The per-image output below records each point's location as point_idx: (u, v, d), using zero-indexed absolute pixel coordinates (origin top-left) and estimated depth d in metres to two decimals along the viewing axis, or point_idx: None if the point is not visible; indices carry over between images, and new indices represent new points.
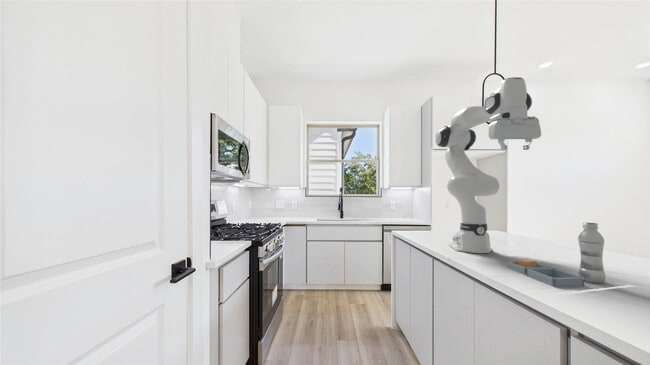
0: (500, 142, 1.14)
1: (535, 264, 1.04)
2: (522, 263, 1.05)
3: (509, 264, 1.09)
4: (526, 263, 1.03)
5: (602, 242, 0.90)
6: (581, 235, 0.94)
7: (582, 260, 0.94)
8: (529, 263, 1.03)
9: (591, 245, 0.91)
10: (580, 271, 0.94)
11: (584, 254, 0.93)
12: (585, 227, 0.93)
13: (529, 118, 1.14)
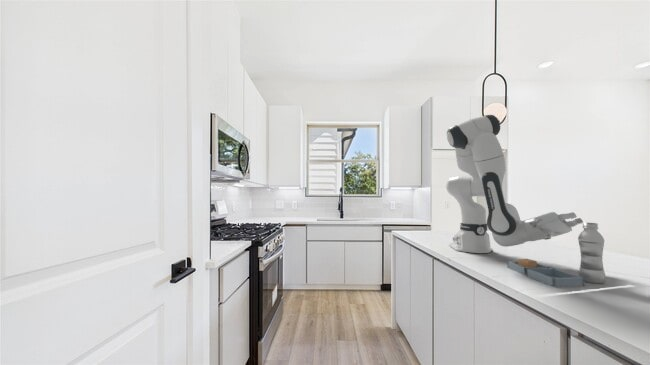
0: None
1: (535, 264, 1.04)
2: (522, 263, 1.05)
3: (509, 264, 1.09)
4: (526, 263, 1.03)
5: (602, 242, 0.90)
6: (581, 235, 0.94)
7: (582, 260, 0.94)
8: (529, 263, 1.03)
9: (591, 245, 0.91)
10: (580, 271, 0.94)
11: (584, 254, 0.93)
12: (585, 227, 0.93)
13: (534, 225, 1.09)
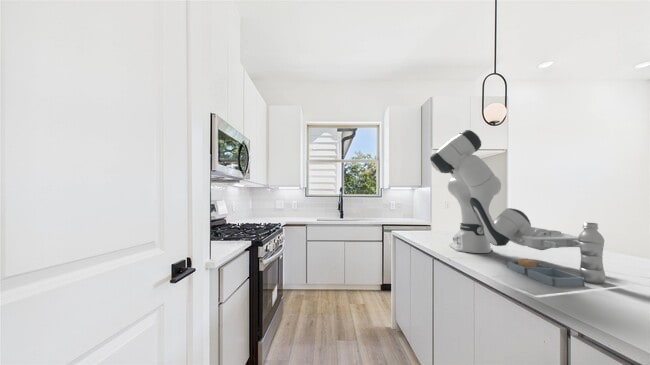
0: None
1: (535, 264, 1.04)
2: (522, 263, 1.05)
3: (509, 264, 1.09)
4: (526, 263, 1.03)
5: (602, 242, 0.90)
6: (581, 235, 0.94)
7: (582, 260, 0.94)
8: (529, 263, 1.03)
9: (591, 245, 0.91)
10: (580, 271, 0.94)
11: (584, 254, 0.93)
12: (585, 227, 0.93)
13: None
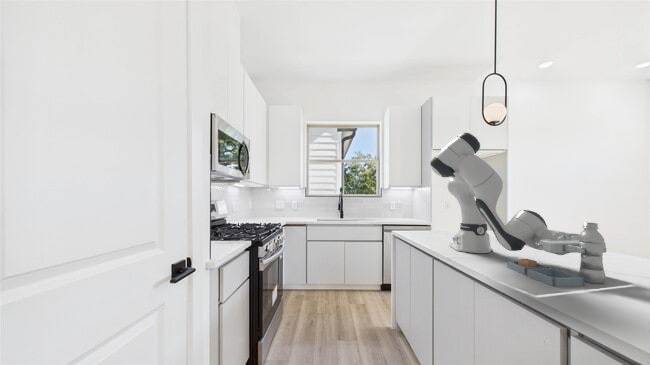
0: None
1: (535, 264, 1.04)
2: (522, 263, 1.05)
3: (509, 264, 1.09)
4: (526, 263, 1.03)
5: (602, 242, 0.90)
6: (581, 235, 0.94)
7: (582, 260, 0.94)
8: (529, 263, 1.03)
9: (591, 245, 0.91)
10: (580, 271, 0.94)
11: (584, 254, 0.93)
12: (585, 227, 0.93)
13: None
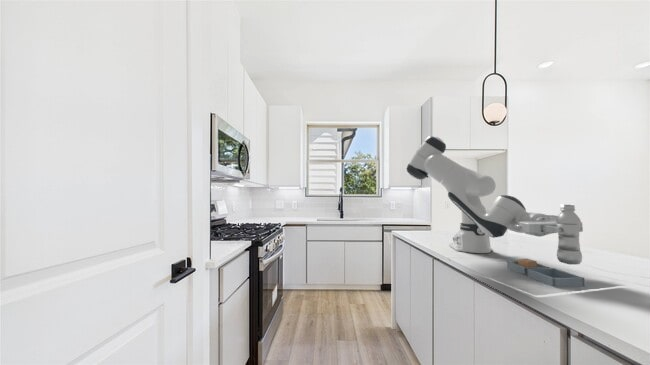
0: None
1: (535, 264, 1.04)
2: (522, 263, 1.05)
3: (509, 264, 1.09)
4: (526, 263, 1.03)
5: (578, 223, 0.91)
6: (559, 217, 0.94)
7: (560, 242, 0.95)
8: (529, 263, 1.03)
9: (568, 227, 0.92)
10: (558, 252, 0.95)
11: (561, 236, 0.94)
12: (562, 209, 0.94)
13: None
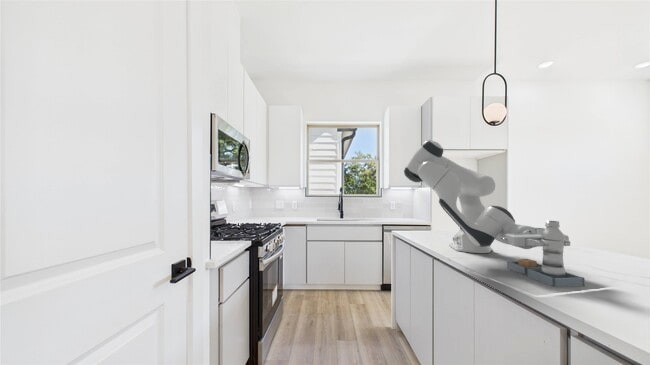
0: None
1: (535, 264, 1.04)
2: (522, 263, 1.05)
3: (509, 264, 1.09)
4: (526, 263, 1.03)
5: (562, 240, 0.91)
6: (543, 233, 0.95)
7: (544, 257, 0.95)
8: (529, 263, 1.03)
9: (552, 243, 0.92)
10: (542, 268, 0.95)
11: (545, 252, 0.94)
12: (547, 225, 0.94)
13: None
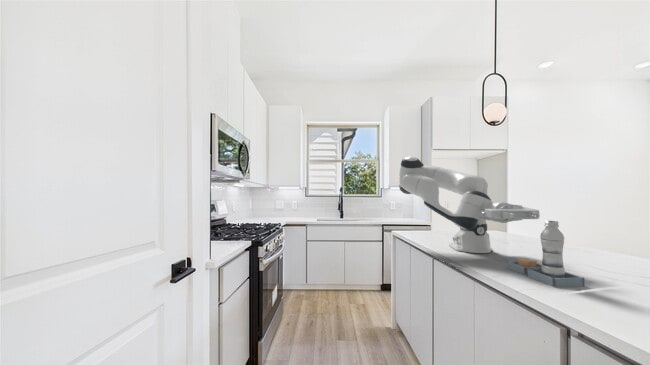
0: None
1: (535, 264, 1.04)
2: (522, 263, 1.05)
3: (509, 264, 1.09)
4: (526, 263, 1.03)
5: (561, 240, 0.92)
6: (543, 233, 0.95)
7: (543, 257, 0.95)
8: (529, 263, 1.03)
9: (551, 243, 0.92)
10: (541, 268, 0.95)
11: (544, 252, 0.94)
12: (546, 225, 0.95)
13: None
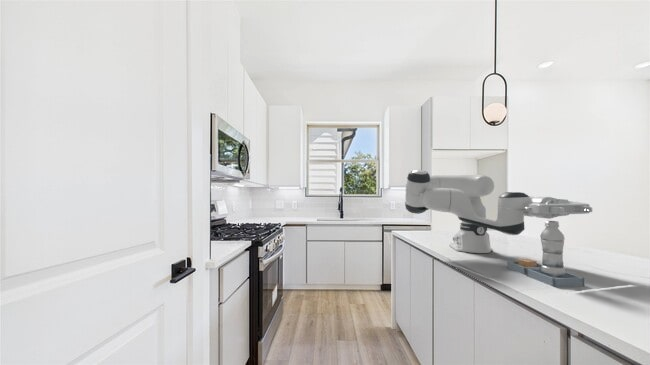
0: None
1: (535, 264, 1.04)
2: (522, 263, 1.05)
3: (509, 264, 1.09)
4: (526, 263, 1.03)
5: (562, 240, 0.91)
6: (543, 233, 0.95)
7: (543, 257, 0.95)
8: (529, 263, 1.03)
9: (551, 243, 0.92)
10: (541, 268, 0.95)
11: (545, 252, 0.94)
12: (546, 225, 0.94)
13: None
